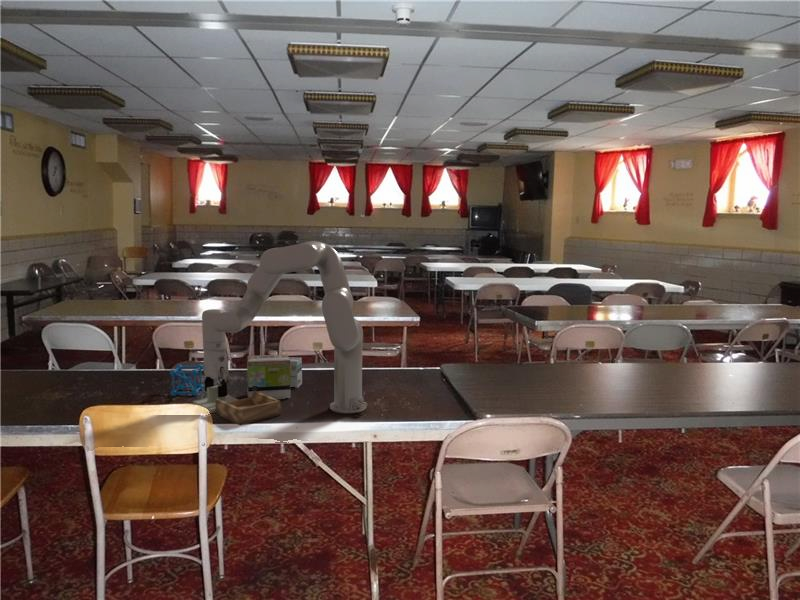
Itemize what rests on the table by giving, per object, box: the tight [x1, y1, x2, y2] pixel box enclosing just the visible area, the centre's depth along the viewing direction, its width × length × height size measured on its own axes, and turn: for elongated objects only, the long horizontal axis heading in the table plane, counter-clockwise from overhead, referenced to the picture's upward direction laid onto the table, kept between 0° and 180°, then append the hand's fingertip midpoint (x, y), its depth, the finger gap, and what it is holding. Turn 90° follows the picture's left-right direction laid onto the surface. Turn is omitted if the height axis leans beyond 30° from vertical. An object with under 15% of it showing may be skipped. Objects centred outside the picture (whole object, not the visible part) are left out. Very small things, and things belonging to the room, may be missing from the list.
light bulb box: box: [288, 356, 303, 389], centre depth 239 cm, size 11×7×11 cm, turn 84°
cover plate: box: [192, 384, 239, 412], centre depth 213 cm, size 13×12×6 cm
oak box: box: [215, 391, 282, 426], centre depth 205 cm, size 16×15×5 cm
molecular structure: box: [169, 363, 205, 397], centre depth 228 cm, size 10×10×10 cm
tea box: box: [246, 354, 292, 400], centre depth 224 cm, size 15×10×15 cm
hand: (215, 393), depth 214 cm, fingers open, 9 cm apart
